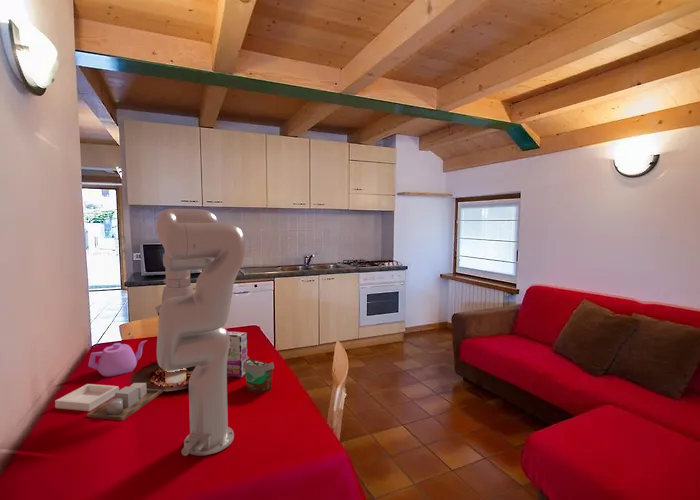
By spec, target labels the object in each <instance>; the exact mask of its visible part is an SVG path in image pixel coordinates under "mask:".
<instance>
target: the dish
mask: <svg viewBox="0 0 700 500" xmlns="http://www.w3.org/2000/svg"><path fill="white" fill-rule="evenodd" d="M119 390H120V387H119V385H118V386H117V385H109V384H107V385H106V384H94V383H86V384H84V385H83V386H81V387H78V388H77V389H75V390H72V391H71V392H69V393H67V394H65V395H64V396H61V397H60V398H58V399H55V400H54V403H55V404H54V407H55V409H59V410H60V409H61V410H69V411H70V410H72V411H84V412H91V411H93V410H95V409H96V408H98V407H100V406H101V405H103V404H104V403H106V402H108V401H109V400H111V399H113V398H114V397H115V393H116V392H117V391H119Z"/></svg>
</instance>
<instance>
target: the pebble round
mask: <svg viewBox="0 0 700 500" xmlns="http://www.w3.org/2000/svg"><path fill="white" fill-rule="evenodd" d="M111 399H112V400H111ZM111 399H109V400H107V401H106V402H107V403H106V402H105V403H106V408H107V415H119V414H121V413H122V412H123V399H121V398H116V399H113V398H111Z"/></svg>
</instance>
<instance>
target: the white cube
mask: <svg viewBox="0 0 700 500" xmlns="http://www.w3.org/2000/svg"><path fill="white" fill-rule="evenodd" d="M128 387H138V396H139V398H142V397H143V396H144V395H145V394H146V393H147V389H148V388H147V382H133V383H132V384H130V386H128Z"/></svg>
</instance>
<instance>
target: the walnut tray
mask: <svg viewBox="0 0 700 500" xmlns="http://www.w3.org/2000/svg"><path fill="white" fill-rule="evenodd" d="M160 394H163V389H158V388H157V389H156V388H147V393H146V394H145V395H144V396H143V397H142V398H139V401H138V402H136V403H135V404H133V405H132V406H130V407H129V408H126V407H123V412H122V413H121V414H119V415H107V408H106V403H107V402H108V401H106V402H104V403H102V404H101V405H99V406H97V407H96V408H94V409H93V410H91V411H89V412H88V413H87V414H86V417H87V418H93V419H96V418H97V419H104V420H105V419H106V420H117V421H124V420H126V419H127V418H129V417H130V416H132V415H133V414H134V413H136V412H137V411H139V410H140V409H141V408H143V407H144V406H146V405H147V404H149V403H150V402H151V401H152V400H154V399H156V398H157V397H159V395H160ZM112 399H115V396H114V397H112V398H111V399H110V400H112Z"/></svg>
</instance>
